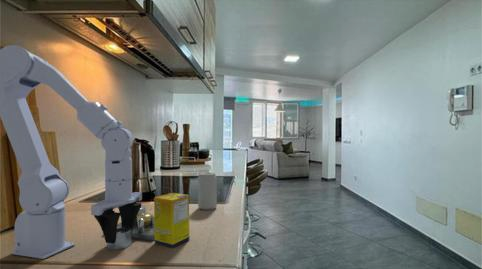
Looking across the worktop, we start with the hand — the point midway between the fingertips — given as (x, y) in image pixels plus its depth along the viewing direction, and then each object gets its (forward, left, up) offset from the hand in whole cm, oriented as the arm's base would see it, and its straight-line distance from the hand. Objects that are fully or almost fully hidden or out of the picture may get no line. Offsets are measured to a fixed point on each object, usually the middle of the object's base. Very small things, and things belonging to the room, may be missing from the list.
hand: (119, 238), depth 67 cm
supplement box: (+11, +5, -2) cm, 12 cm away
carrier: (-1, +12, -2) cm, 12 cm away
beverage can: (+7, +36, -2) cm, 37 cm away
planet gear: (0, 0, -2) cm, 2 cm away
